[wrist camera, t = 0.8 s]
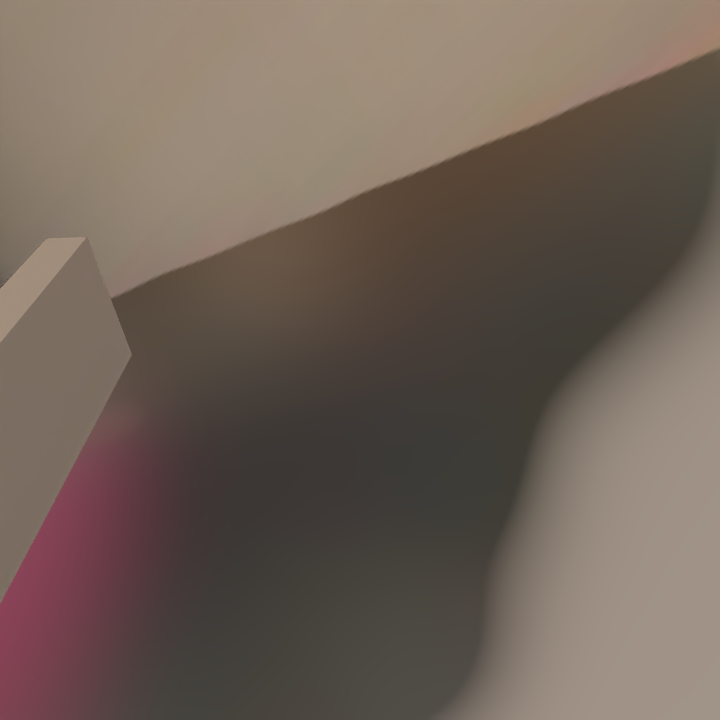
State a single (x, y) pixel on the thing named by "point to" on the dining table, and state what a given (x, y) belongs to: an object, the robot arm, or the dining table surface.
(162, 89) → the dining table surface
